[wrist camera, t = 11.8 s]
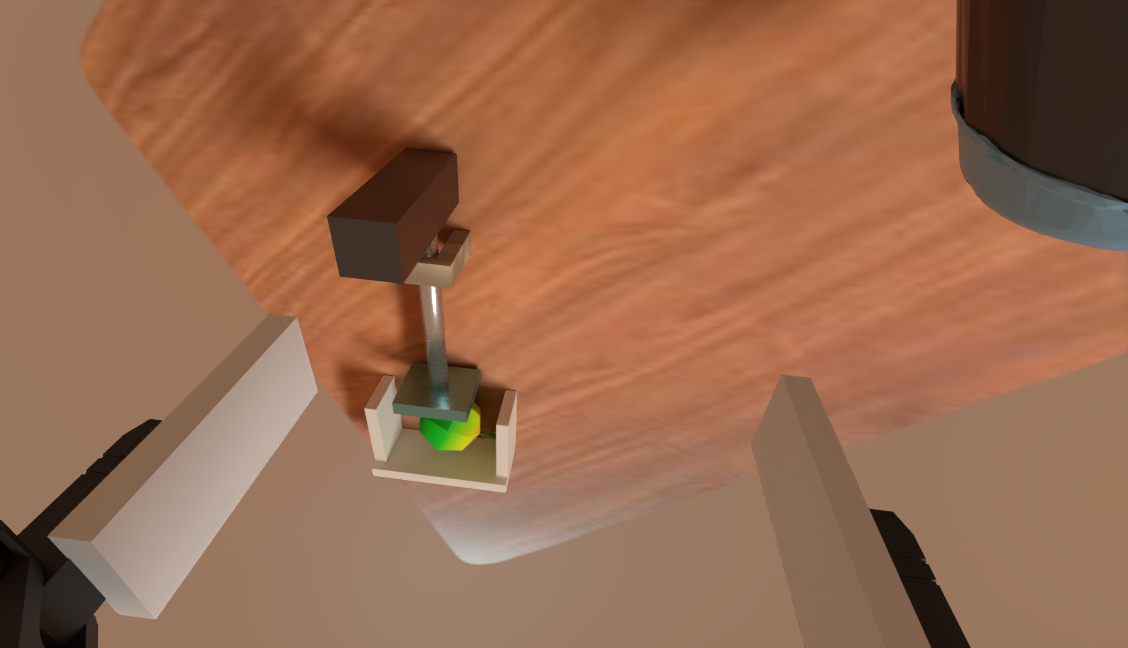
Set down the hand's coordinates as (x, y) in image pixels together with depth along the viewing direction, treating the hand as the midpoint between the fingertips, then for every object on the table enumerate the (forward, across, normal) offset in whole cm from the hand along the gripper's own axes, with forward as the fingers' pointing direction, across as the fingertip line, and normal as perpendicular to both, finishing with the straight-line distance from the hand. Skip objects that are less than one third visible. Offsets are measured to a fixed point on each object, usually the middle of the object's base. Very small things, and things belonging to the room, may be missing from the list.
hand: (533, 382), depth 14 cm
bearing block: (+29, -12, -11) cm, 33 cm away
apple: (+29, -10, -31) cm, 44 cm away
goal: (+29, -12, -33) cm, 45 cm away
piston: (+28, -12, -15) cm, 34 cm away
